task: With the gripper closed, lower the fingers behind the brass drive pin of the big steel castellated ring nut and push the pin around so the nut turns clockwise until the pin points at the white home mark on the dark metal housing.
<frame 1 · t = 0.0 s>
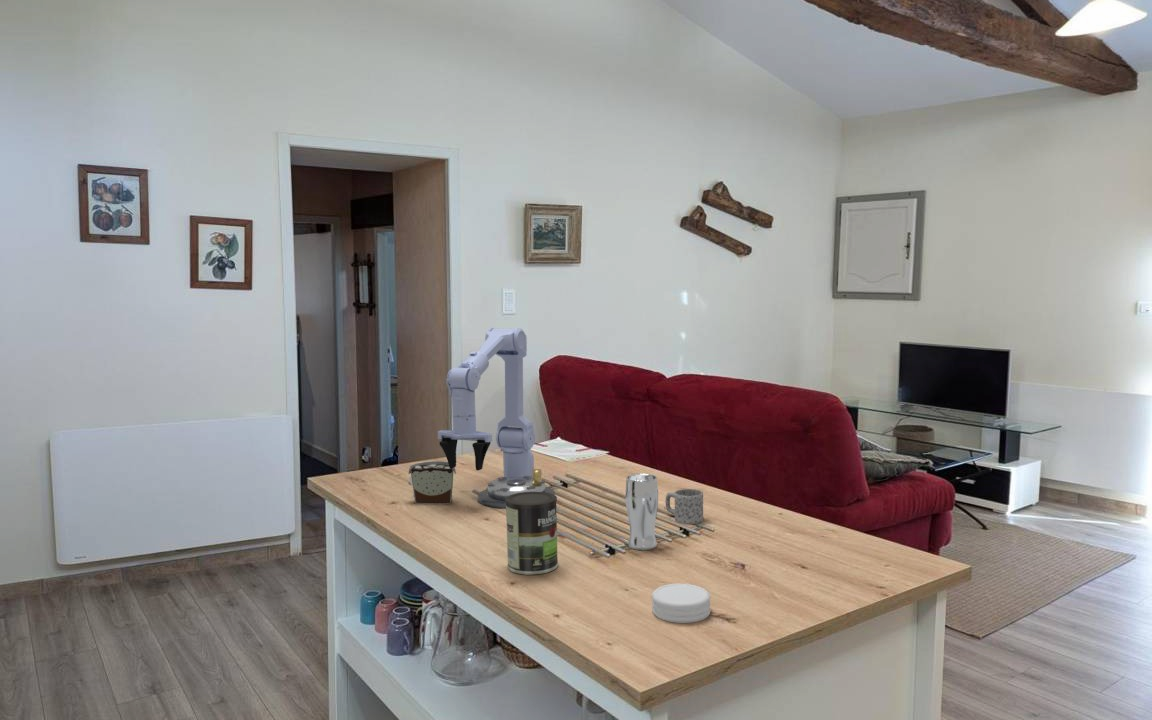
hand: (465, 468, 211), 10 cm above the counter, tool pointing down, fingers open, 7 cm apart
mug: (683, 519, 199), on the counter
ring nut: (516, 480, 219), point 5 cm above the counter, hinge at 0.0°
stirrer: (419, 491, 231), on the counter
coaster: (681, 613, 145), on the counter
food container: (436, 501, 219), on the counter
beer glass: (642, 546, 179), on the counter
coffee can: (532, 567, 168), on the counter
nut housing: (516, 498, 220), on the counter
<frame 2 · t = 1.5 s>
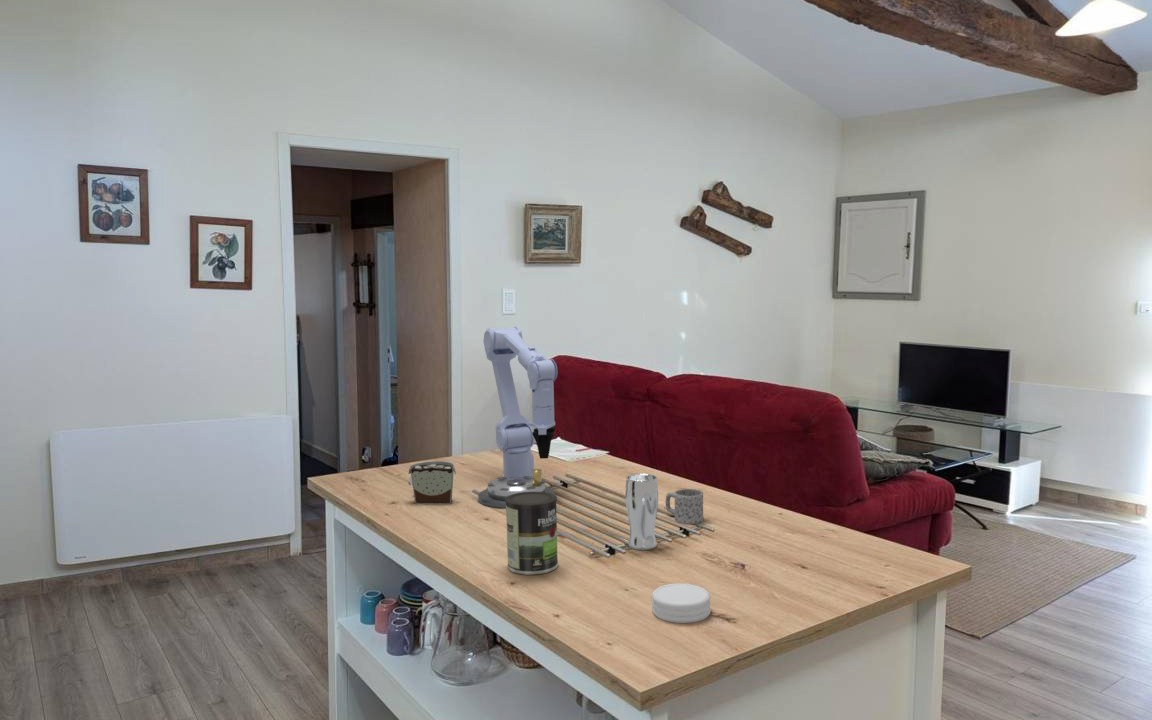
hand: (544, 456, 221), 10 cm above the counter, tool pointing down, fingers open, 3 cm apart
nothing on the counter moved.
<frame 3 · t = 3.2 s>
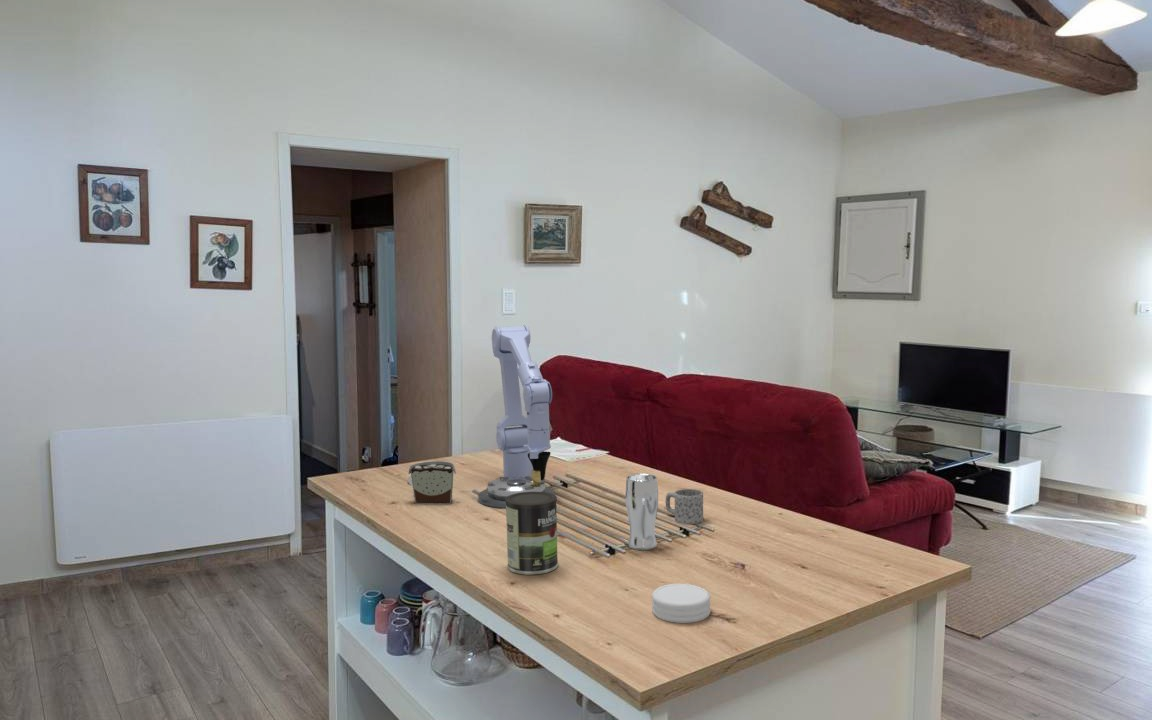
hand: (539, 480, 218), 5 cm above the counter, tool pointing down, fingers closed
ring nut: (516, 480, 219), point 5 cm above the counter, hinge at -4.7°, touching gripper
everything else where it was.
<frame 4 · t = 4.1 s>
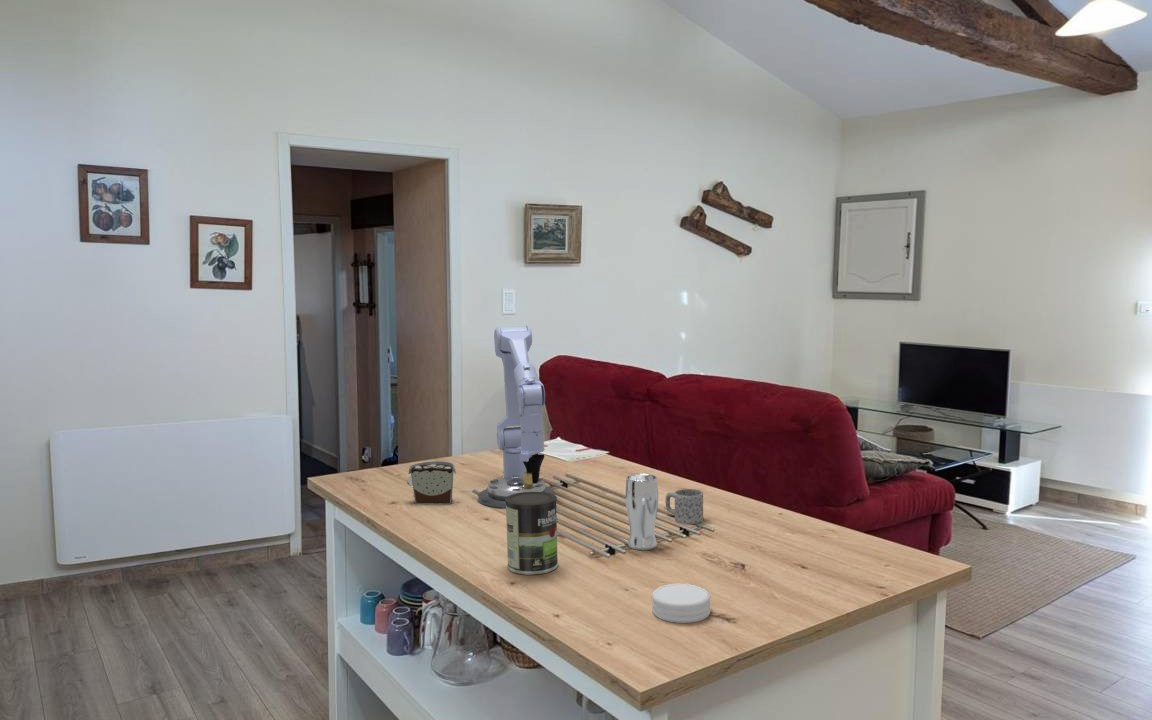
hand: (533, 482, 216), 5 cm above the counter, tool pointing down, fingers closed, pressing on ring nut
ring nut: (516, 480, 219), point 5 cm above the counter, hinge at -33.5°, touching gripper
everything else where it was.
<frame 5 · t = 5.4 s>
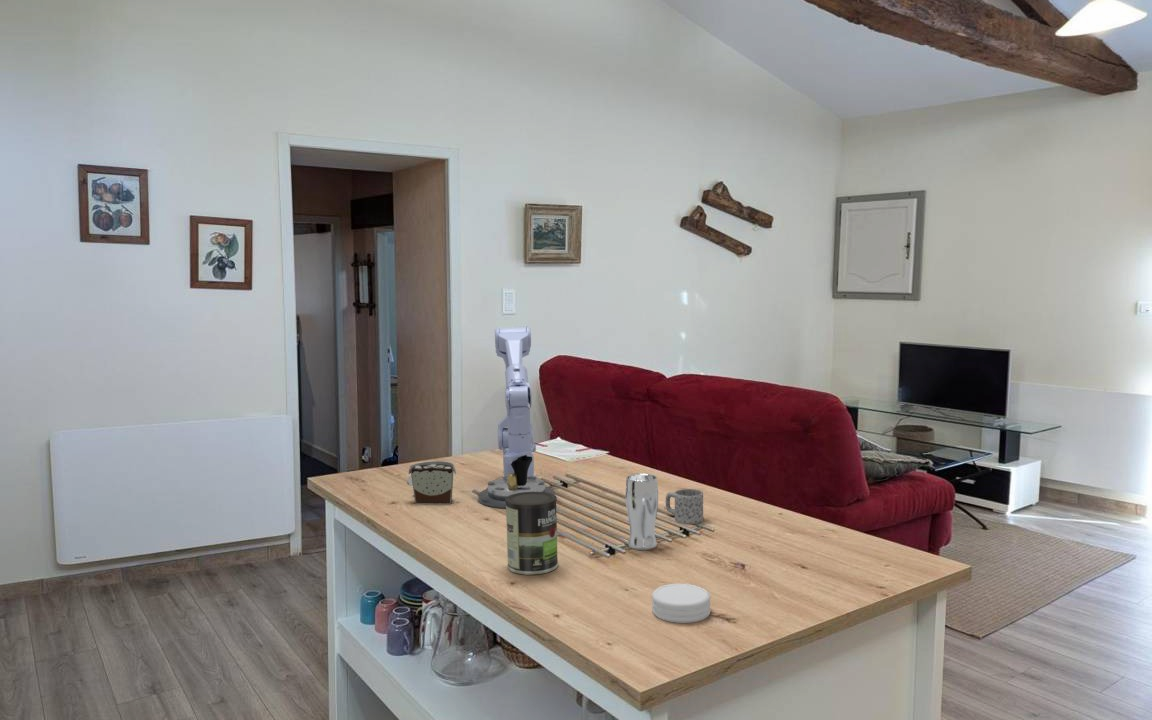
hand: (521, 484, 214), 5 cm above the counter, tool pointing down, fingers closed, pressing on ring nut
ring nut: (516, 480, 219), point 5 cm above the counter, hinge at -72.2°, touching gripper
everything else where it was.
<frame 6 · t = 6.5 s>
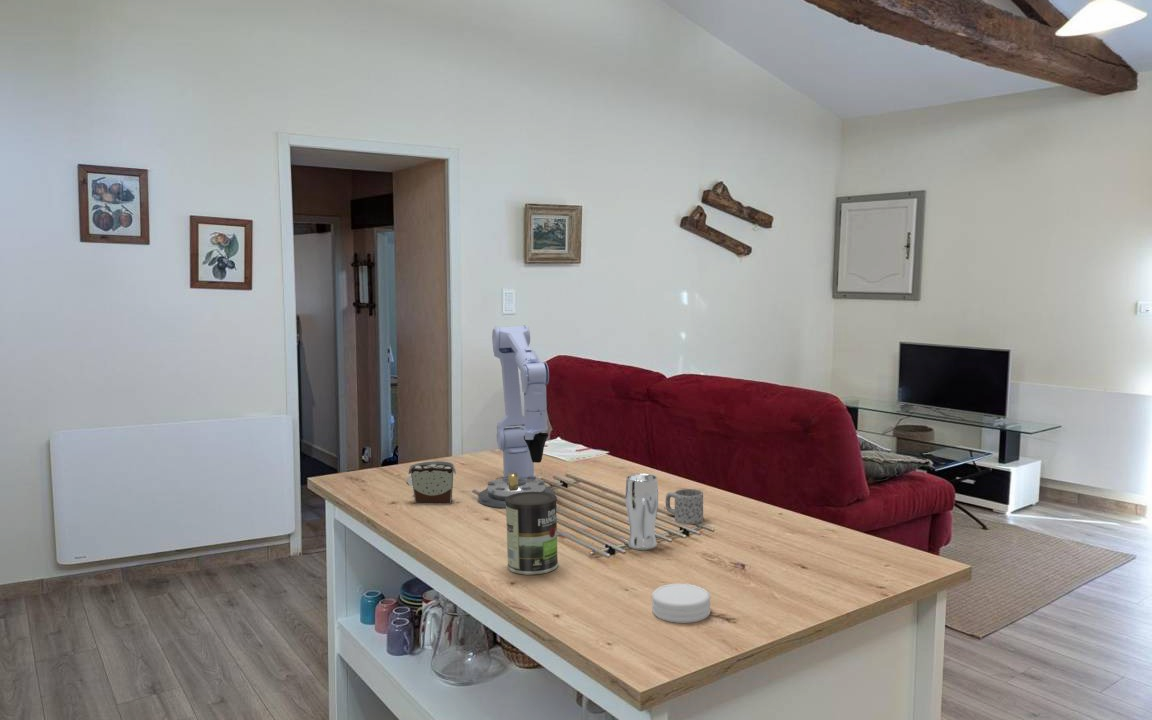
hand: (536, 462, 215), 10 cm above the counter, tool pointing down, fingers closed
ring nut: (516, 480, 219), point 5 cm above the counter, hinge at -70.5°
everything else where it was.
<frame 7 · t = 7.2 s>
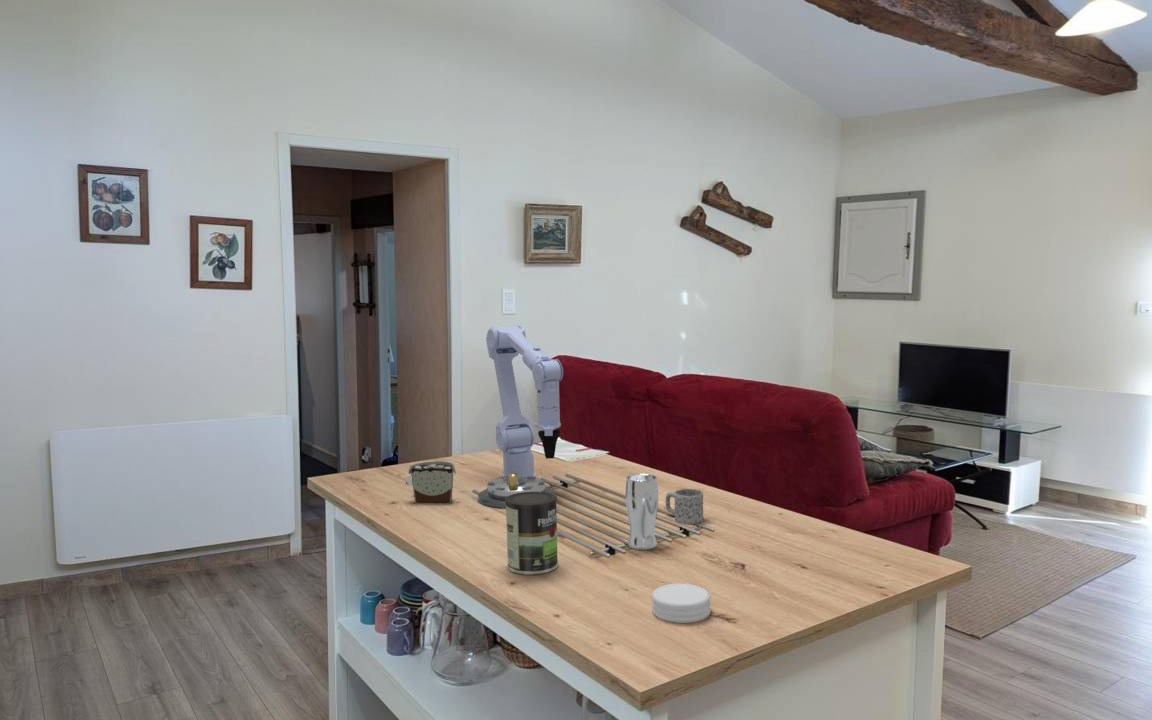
hand: (549, 458, 219), 10 cm above the counter, tool pointing down, fingers closed
nothing on the counter moved.
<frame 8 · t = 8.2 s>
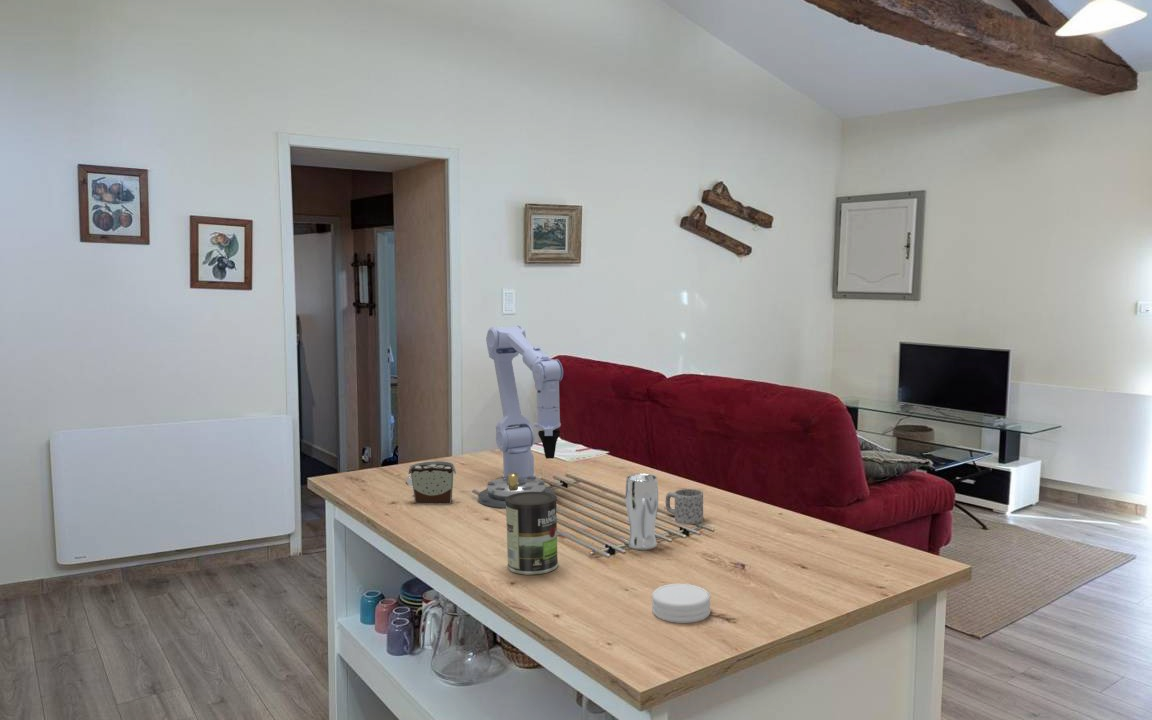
hand: (549, 458, 219), 10 cm above the counter, tool pointing down, fingers closed
nothing on the counter moved.
at the end: ring nut at -70° (first picture: +0°); food container moved 0.2 cm from its start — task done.
